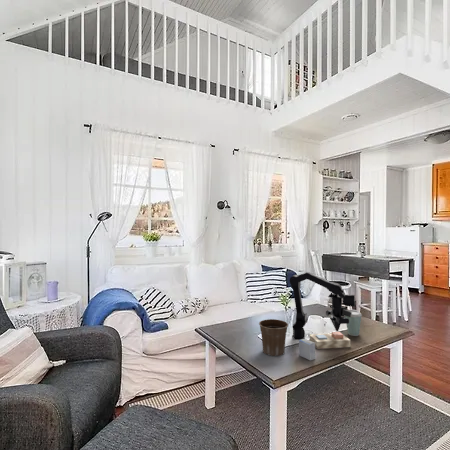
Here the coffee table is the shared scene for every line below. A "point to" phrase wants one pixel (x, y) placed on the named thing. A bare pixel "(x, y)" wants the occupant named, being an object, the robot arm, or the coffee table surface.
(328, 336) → the key console
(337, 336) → the terracotta key
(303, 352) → the medicine box
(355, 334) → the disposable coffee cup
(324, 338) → the blue grey key
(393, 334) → the coffee table surface
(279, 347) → the plant pot
